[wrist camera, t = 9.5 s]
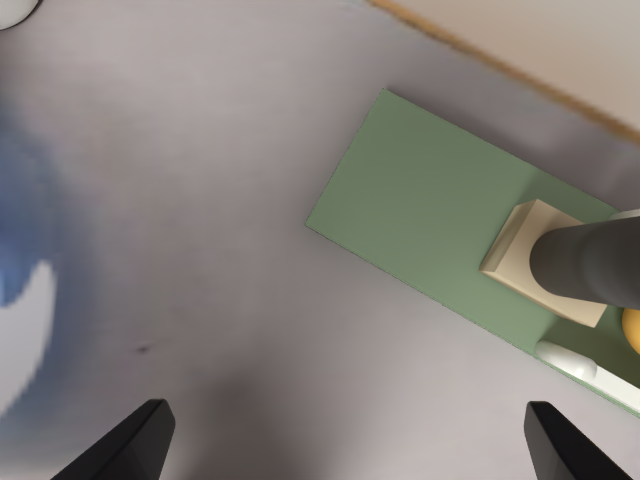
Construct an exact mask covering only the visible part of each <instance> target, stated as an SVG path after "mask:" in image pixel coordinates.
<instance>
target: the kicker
mask: <svg viewBox="0 0 640 480" xmlns="http://www.w3.org/2000/svg"><path fill="white" fill-rule="evenodd" d="M478 271H479V272H481V273H483V274H485V275H486V276H488V277H490V278H492V279H494V280H495V281H497V282H499V283H501V284H503V285H504V286H506V287H508V288H510V289H511V290H513V291H515V292H517V293H519V294H520V295H522V296H524V297H526V298H528V299H529V300H531V301H533V302H535V303H536V304H538V305H540V306H542V307H544V308H545V309H547V310H549V311H551V312H553V313H554V314H556V315H558V316H560V317H561V318H563V319H565V320H569V321H573V322H576V323H580V324H583V325H587V326H590V327H594V328H595V326H596V324H597V322H598V321H599V319H600V317H601V315H602V314H603V312H604V310H605V309H606V307H607V305H612V306H618V307H623V308H629V309H635V310H640V216H636V217H629V218H622V219H616V220H609V221H603V222H596V223H590V224H584V223H582V222H581V221H579V220H577V219H575V218H573V217H571V216H569V215H567V214H565V213H563V212H562V211H560V210H558V209H556V208H554V207H552V206H550V205H548V204H546V203H544V202H543V201H541V200H539V199H535V200H532V201H529V202H526V203H523V204H520V205H517V206H515V207H514V209H513V211H512V213H511V214H510V216H509V218H508V219H507V221H506V223H505V225H504V226H503V228H502V230H501V232H500V233H499V235H498V237H497V238H496V240H495V242H494V244H493V245H492V247H491V249H490V251H489V252H488V254H487V256H486V257H485V259H484V261H483V263H482V264H481V266H480V268H479V270H478Z"/></svg>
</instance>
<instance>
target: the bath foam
mask: <svg viewBox="0 0 640 480" xmlns="http://www.w3.org/2000/svg"><path fill="white" fill-rule="evenodd" d="M37 2H38V0H0V30H1V29H5V28H9V27H11V26H13V25H15V24H17V23H19V22H20V21H22V20H23V19H24V18H25V17H27V16H28V15H29V14H30V12H31V11H32V10H33V9H34V7H35V6H36V4H37Z"/></svg>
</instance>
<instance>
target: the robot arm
mask: <svg viewBox="0 0 640 480" xmlns="http://www.w3.org/2000/svg"><path fill="white" fill-rule="evenodd" d="M174 429H175V418H174V415H173V413H172V411H171V409H170V407H169V404H168V402H167V401H166V400H165V399H150V400H148V401H147V402H145V403H144V404H143V405H142V406H140V407H139V408H138V409H137V410H135V411H134V412H133V413H132V414H131V415H129V416H128V417H127V418H126V419H124V420H123V421H122V422H121V423H119V424H118V425H117V426H116V427H115V428H113V429H112V430H111V431H110V432H108V433H107V434H106V435H105V436H103V437H102V438H101V439H100V440H98V441H97V442H96V443H95V444H94V445H92V446H91V447H90V448H89V449H87V450H86V451H85V452H84V453H82V454H81V455H80V456H79V457H78V458H76V459H75V460H74V461H73V462H71V463H70V464H69V465H68V466H66V467H65V468H64V469H63V470H62V471H60V472H59V473H58V474H57V475H55V476H54V477H53V478H52V479H50V480H159V477H160V474H161V471H162V468H163V465H164V461H165V458H166V455H167V452H168V449H169V445H170V442H171V439H172V436H173V433H174ZM524 433H525V437H526V441H527V444H528V448H529V451H530V455H531V458H532V462H533V465H534V469H535V472H536V476H537V479H538V480H633V479H632V478H631V477H630V476H629V475H628V474H627V473H625V472H624V471H623V470H622V469H621V468H620V467H619V466H618V465H617V464H616V463H615V462H614V461H612V460H611V459H610V458H609V457H608V456H607V455H606V454H605V453H604V452H603V451H602V450H600V449H599V448H598V447H597V446H596V445H595V444H594V443H593V442H592V441H591V440H590V439H589V438H587V437H586V436H585V435H584V434H583V433H582V432H581V431H580V430H579V429H578V428H577V427H576V426H574V425H573V424H572V423H571V422H570V421H569V420H568V419H567V418H566V417H565V416H564V415H562V414H561V413H560V412H559V411H558V410H557V409H556V408H555V407H554V406H553V405H552V404H550V403H549V402H546V401H529V402H528V403H527V407H526V414H525V420H524Z"/></svg>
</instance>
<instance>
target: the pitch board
mask: <svg viewBox="0 0 640 480" xmlns="http://www.w3.org/2000/svg"><path fill="white" fill-rule="evenodd" d="M535 199H539V200H541V201H543V202H544V203H546V204H548V205H550V206H552V207H554V208H556V209H558V210H560V211H562V212H563V213H565V214H567V215H569V216H571V217H573V218H575V219H577V220H579V221H581V222H582V223H584V224H590V223H596V222H603V221H608V219H609V217H610V216H611V215H612V214H614V213H619V212H622V211H620V210H618V209H616V208H614V207H612V206H610V205H608V204H606V203H604V202H602V201H600V200H599V199H597V198H595V197H593V196H591V195H589V194H587V193H585V192H583V191H581V190H579V189H577V188H575V187H573V186H571V185H570V184H568V183H566V182H564V181H562V180H560V179H558V178H556V177H554V176H552V175H550V174H548V173H546V172H544V171H542V170H541V169H539V168H537V167H535V166H533V165H531V164H529V163H527V162H525V161H523V160H521V159H519V158H517V157H515V156H513V155H512V154H510V153H508V152H506V151H504V150H502V149H500V148H498V147H496V146H494V145H492V144H490V143H488V142H486V141H484V140H483V139H481V138H479V137H477V136H475V135H473V134H471V133H469V132H467V131H465V130H463V129H461V128H459V127H457V126H455V125H454V124H452V123H450V122H448V121H446V120H444V119H442V118H440V117H438V116H436V115H434V114H432V113H430V112H428V111H426V110H425V109H423V108H421V107H419V106H417V105H415V104H413V103H411V102H409V101H407V100H405V99H403V98H401V97H399V96H397V95H396V94H394V93H392V92H390V91H388V90H386V89H384V88H383V89H382V91H381V93H380V94H379V96H378V98H377V99H376V101H375V103H374V105H373V106H372V108H371V110H370V112H369V113H368V115H367V117H366V119H365V120H364V122H363V124H362V125H361V127H360V129H359V131H358V132H357V134H356V136H355V138H354V139H353V141H352V143H351V144H350V146H349V148H348V150H347V151H346V153H345V155H344V157H343V158H342V160H341V162H340V163H339V165H338V167H337V169H336V170H335V172H334V174H333V176H332V177H331V179H330V181H329V182H328V184H327V186H326V188H325V189H324V191H323V193H322V195H321V196H320V198H319V200H318V201H317V203H316V205H315V207H314V208H313V210H312V212H311V214H310V215H309V217H308V219H307V220H306V222H305V224H304V225H306V226H307V227H309V228H311V229H312V230H314V231H316V232H318V233H319V234H321V235H323V236H325V237H326V238H328V239H330V240H331V241H333V242H335V243H337V244H338V245H340V246H342V247H344V248H345V249H347V250H349V251H351V252H352V253H354V254H356V255H357V256H359V257H361V258H363V259H364V260H366V261H368V262H370V263H371V264H373V265H375V266H377V267H378V268H380V269H382V270H383V271H385V272H387V273H389V274H390V275H392V276H394V277H396V278H397V279H399V280H401V281H403V282H404V283H406V284H408V285H409V286H411V287H413V288H415V289H416V290H418V291H420V292H422V293H423V294H425V295H427V296H429V297H430V298H432V299H434V300H435V301H437V302H439V303H441V304H442V305H444V306H446V307H448V308H449V309H451V310H453V311H455V312H456V313H458V314H460V315H461V316H463V317H465V318H467V319H468V320H470V321H472V322H474V323H475V324H477V325H479V326H481V327H482V328H484V329H486V330H487V331H489V332H491V333H493V334H494V335H496V336H498V337H500V338H501V339H503V340H505V341H507V342H508V343H510V344H512V345H513V346H515V347H517V348H519V349H520V350H522V351H524V352H526V353H527V354H529V355H531V356H533V357H534V358H536V359H538V360H539V361H541V362H543V363H545V364H546V365H548V366H550V367H552V368H553V369H555V370H557V371H559V372H560V373H562V374H564V375H565V376H567V377H569V378H571V379H572V380H574V381H576V382H578V383H579V384H581V385H583V386H585V387H586V388H588V389H590V390H591V391H593V392H595V393H597V394H598V395H600V396H602V397H604V398H605V399H607V400H609V401H611V402H612V403H614V404H616V405H618V406H619V407H621V408H623V409H624V410H626V411H628V412H630V413H631V414H633V415H635V416H637V417H638V418H640V413H638V412H637V411H635V410H633V409H631V408H630V407H628V406H626V405H624V404H623V403H621V402H619V401H617V400H616V399H614V398H612V397H610V396H609V395H607V394H605V393H604V392H602V391H600V390H598V389H597V388H595V387H593V386H591V385H590V384H588V383H586V382H584V381H583V380H580V379H579V378H577V377H575V376H573V375H571V374H569V373H567V372H565V371H563V370H562V369H560V368H558V367H556V366H554V365H552V364H550V363H548V362H546V361H545V360H543V359H541V358H539V357H538V356H537V355H536V354H535V350H534V348H535V345H536V344H537V343H538V342H539V341H541V340H546V341H549V342H552V343H554V344H556V345H559V346H561V347H563V348H566V349H568V350H571V351H573V352H575V353H578V354H580V355H583V356H585V357H587V358H590V359H592V360H593V361H594V362H595V363H596V365H598V366H599V367H601V368H603V369H605V370H606V371H608V372H610V373H612V374H613V375H615V376H617V377H619V378H620V379H622V380H624V381H626V382H627V383H629V384H631V385H633V386H635V387H636V388H638V389H640V354H638V353H637V352H636V351H635V350H634V349H633V347H632V346H631V345H630V344H629V342H628V340H627V339H626V337H625V334H624V331H623V327H622V315H623V312H624V309H625V308H623V307H618V306H612V305H607V307H606V309H605V310H604V312H603V314H602V315H601V317H600V319H599V321H598V322H597V324H596V326H595V328H594V327H590V326H587V325H583V324H580V323H576V322H573V321H569V320H565V319H563V318H561V317H560V316H558V315H556V314H554V313H553V312H551V311H549V310H547V309H545V308H544V307H542V306H540V305H538V304H536V303H535V302H533V301H531V300H529V299H528V298H526V297H524V296H522V295H520V294H519V293H517V292H515V291H513V290H511V289H510V288H508V287H506V286H504V285H503V284H501V283H499V282H497V281H495V280H494V279H492V278H490V277H488V276H486V275H485V274H483V273H481V272H479V271H478V270H479V268H480V266H481V264H482V263H483V261H484V259H485V257H486V256H487V254H488V252H489V251H490V249H491V247H492V245H493V244H494V242H495V240H496V238H497V237H498V235H499V233H500V232H501V230H502V228H503V226H504V225H505V223H506V221H507V219H508V218H509V216H510V214H511V213H512V211H513V209H514V207H515V206H517V205H520V204H523V203H526V202H529V201H532V200H535Z"/></svg>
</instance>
